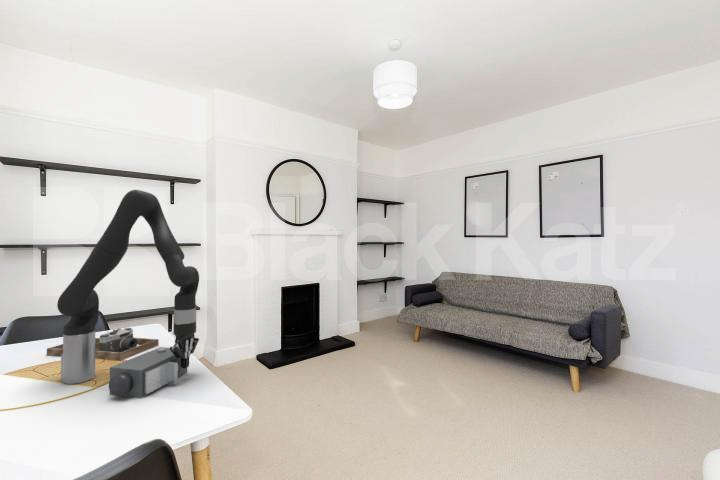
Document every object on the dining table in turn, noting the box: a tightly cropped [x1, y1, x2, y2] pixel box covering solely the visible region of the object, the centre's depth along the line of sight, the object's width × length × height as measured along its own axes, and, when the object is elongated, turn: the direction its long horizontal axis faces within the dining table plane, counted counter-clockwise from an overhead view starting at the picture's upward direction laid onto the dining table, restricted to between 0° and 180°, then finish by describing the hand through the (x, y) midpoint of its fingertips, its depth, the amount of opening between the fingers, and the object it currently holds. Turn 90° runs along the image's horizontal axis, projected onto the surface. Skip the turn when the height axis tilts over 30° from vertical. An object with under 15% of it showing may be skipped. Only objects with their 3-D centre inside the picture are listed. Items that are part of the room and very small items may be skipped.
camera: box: [98, 327, 138, 353], centre depth 158 cm, size 16×10×10 cm, turn 169°
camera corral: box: [95, 337, 160, 361], centre depth 159 cm, size 15×21×3 cm
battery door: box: [144, 362, 179, 395], centre depth 118 cm, size 4×10×7 cm, turn 168°
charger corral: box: [46, 337, 99, 358], centre depth 160 cm, size 15×18×3 cm
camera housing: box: [108, 346, 188, 399], centre depth 123 cm, size 12×25×10 cm, turn 168°
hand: (184, 367), depth 128 cm, fingers closed
